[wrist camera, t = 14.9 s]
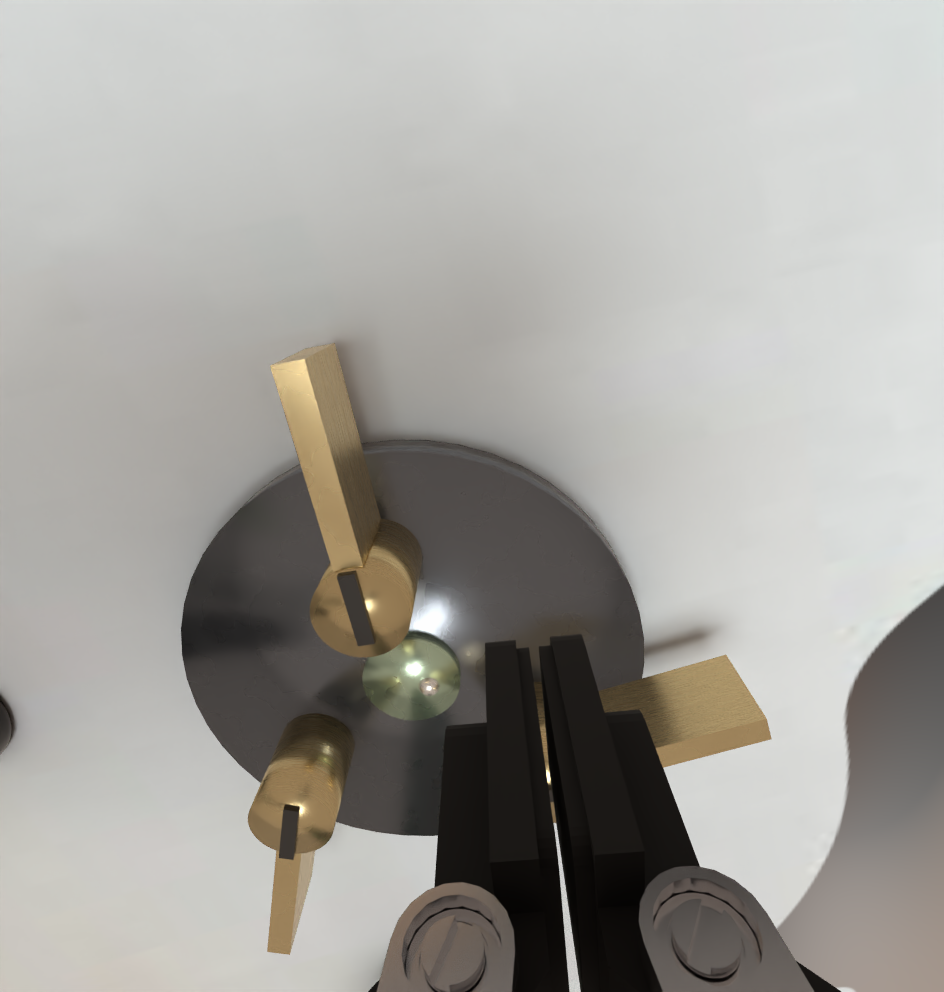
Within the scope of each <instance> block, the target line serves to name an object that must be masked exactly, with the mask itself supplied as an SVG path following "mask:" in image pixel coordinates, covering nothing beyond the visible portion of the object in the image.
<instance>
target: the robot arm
mask: <svg viewBox="0 0 944 992" xmlns="http://www.w3.org/2000/svg"><path fill="white" fill-rule="evenodd" d="M539 658H540V670H541V681H542V693H543V705H544V716H545V728H546V740H547V751H548V763H549V773H550V781H551V788H552V795H553V802H554V809H555V816H556V823H557V830H558V837H559V844H560V851H561V857H562V864H563V871H564V878H565V885H566V892H567V899H568V906H569V913H570V920H571V927H572V934H573V940H574V947H575V954H576V961H577V968H578V975H579V982H580V989H581V992H841V991H840V990H838V989H837V988H835V987H834V986H832V985H831V984H829V983H828V982H826V981H825V980H823V979H822V978H820V977H819V976H818V975H816V974H815V973H813V972H812V971H810V970H809V969H807V968H806V967H804V966H803V965H801V964H800V963H798V962H797V961H796V960H795V959H794V957H793V956H792V954H791V952H790V951H789V949H788V947H787V946H786V944H785V942H784V941H783V939H782V937H781V936H780V934H779V932H778V931H777V929H776V927H775V926H774V924H773V922H772V921H771V919H770V917H769V916H768V914H767V913H766V911H765V910H764V909H763V908H762V906H761V905H760V904H759V902H758V901H757V900H756V899H755V897H754V896H753V895H752V894H751V893H750V892H749V891H747V890H746V889H745V888H744V887H742V886H741V885H740V884H739V883H738V882H736V881H735V880H734V879H731V878H729V877H727V876H725V875H723V874H721V873H719V872H717V871H715V870H712V869H707V868H703V867H700V866H699V863H698V860H697V858H696V855H695V852H694V850H693V847H692V844H691V842H690V839H689V836H688V834H687V831H686V828H685V826H684V823H683V820H682V818H681V815H680V812H679V810H678V807H677V804H676V802H675V799H674V796H673V793H672V791H671V788H670V785H669V783H668V780H667V777H666V775H665V772H664V769H663V767H662V764H661V761H660V759H659V756H658V753H657V751H656V748H655V745H654V743H653V740H652V737H651V735H650V732H649V729H648V726H647V724H646V721H645V719H644V717H643V714H642V713H641V711H640V710H628V711H616V712H604V709H603V705H602V702H601V698H600V695H599V691H598V688H597V684H596V681H595V677H594V674H593V671H592V667H591V664H590V660H589V657H588V653H587V650H586V646H585V643H584V639H583V636H582V634H574V635H563V636H552V637H550V645H548V646H539ZM485 676H486V720H487V722H486V723H474V724H462V725H450V726H447V727H446V729H445V739H444V754H443V769H442V784H441V799H440V814H439V829H438V844H437V859H436V874H435V888H432V889H430V890H427V891H426V892H424V893H423V894H422V895H420V896H419V897H418V898H417V899H415V900H414V901H413V902H411V904H410V905H409V906H408V907H407V909H406V910H405V911H404V913H403V914H402V915H401V917H400V918H399V920H398V922H397V924H396V927H395V929H394V932H393V934H392V937H391V939H390V943H389V947H388V951H387V954H386V958H385V962H384V966H383V970H382V973H381V977H380V980H379V981H378V982H377V983H376V984H375V985H374V986H373V987H372V988H371V989H370V990H369V991H368V992H569V982H568V970H567V959H566V947H565V935H564V923H563V911H562V899H561V887H560V876H559V865H558V856H557V847H556V839H555V831H554V824H553V817H552V810H551V803H550V795H549V788H548V781H547V774H546V767H545V759H544V752H543V745H542V738H541V731H540V723H539V716H538V709H537V702H536V695H535V687H534V680H533V673H532V666H531V659H530V651H529V647H526V648H516V640H508V641H497V642H486V643H485Z"/></svg>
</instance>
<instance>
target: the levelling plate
mask: <svg viewBox="0 0 944 992" xmlns="http://www.w3.org/2000/svg"><path fill="white" fill-rule="evenodd" d="M361 445H362V449H363V453H364V457H365V461H366V464H367V468H368V472H369V476H370V480H371V483H372V487H373V491H374V495H375V499H376V502H377V506H378V510H379V514H380V518H381V519H388V520H392V521H394V522H397V523H399V524H401V525H403V526H404V527H406V528H407V529H408V530H409V531H410V532H411V533H412V534H413V535H414V536H415V538H416V539H417V541H418V543H419V545H420V547H421V551H422V566H421V571H420V576H419V581H418V587H417V592H416V597H415V602H414V607H413V613H412V618H411V623H410V627H409V630H408V633H407V635H406V636H405V638H404V639H403V641H402V642H401V643H400V644H399V645H398V646H397V647H395V648H394V649H393V650H391V651H389V652H387V653H385V654H382V655H379V656H375V657H353V656H349V655H346V654H343V653H340V652H338V651H336V650H334V649H333V648H331V647H330V646H328V645H327V644H326V643H325V642H324V641H323V640H322V639H321V638H320V637H319V636H318V634H317V633H316V631H315V630H314V628H313V625H312V623H311V619H310V603H311V599H312V597H313V594H314V593H315V591H316V589H317V587H318V585H319V583H320V581H321V579H322V577H323V575H324V573H325V571H326V569H327V567H328V565H329V563H330V559H329V556H328V553H327V549H326V546H325V543H324V540H323V536H322V533H321V530H320V527H319V523H318V520H317V517H316V514H315V510H314V507H313V504H312V501H311V497H310V494H309V491H308V487H307V484H306V481H305V478H304V474H303V471H302V468H301V465H298V466H296V467H294V468H292V469H291V470H289V471H287V472H285V473H284V474H282V475H280V476H278V477H277V478H275V479H274V480H273V481H272V482H270V483H269V484H268V485H266V486H265V487H264V488H262V489H261V490H260V491H259V492H257V493H256V494H255V495H254V496H253V497H252V498H251V499H250V500H249V501H248V502H247V503H246V504H245V505H244V506H243V507H242V508H241V509H240V510H239V511H238V512H237V513H236V514H235V515H234V516H233V517H232V518H231V519H230V520H229V521H228V522H227V523H226V525H225V526H224V527H223V528H222V529H221V530H220V531H219V532H218V533H217V535H216V536H215V538H214V539H213V541H212V542H211V544H210V545H209V546H208V548H207V549H206V551H205V552H204V554H203V555H202V558H201V560H200V562H199V564H198V566H197V568H196V570H195V572H194V574H193V576H192V579H191V582H190V585H189V589H188V592H187V596H186V599H185V603H184V609H183V618H182V627H181V638H182V656H183V661H184V666H185V671H186V676H187V680H188V683H189V686H190V688H191V691H192V694H193V697H194V699H195V702H196V704H197V706H198V708H199V710H200V712H201V714H202V716H203V717H204V719H205V721H206V723H207V725H208V726H209V728H210V729H211V731H212V732H213V733H214V735H215V736H216V738H217V739H218V741H219V742H220V743H221V745H222V746H223V747H224V748H225V749H226V750H227V752H228V753H229V754H230V755H231V756H232V757H233V758H234V759H235V760H236V761H237V762H238V764H239V765H240V766H242V767H243V768H244V769H245V770H246V771H247V772H249V773H250V774H251V775H252V776H253V777H254V778H256V779H257V780H258V781H259V782H260V783H261V782H262V780H263V778H264V775H265V773H266V771H267V768H268V766H269V763H270V761H271V759H272V756H273V754H274V752H275V749H276V747H277V745H278V742H279V740H280V737H281V735H282V733H283V730H284V728H285V727H286V725H287V724H288V723H289V722H290V721H291V720H293V719H294V718H296V717H298V716H301V715H305V714H312V713H317V714H324V715H328V716H331V717H334V718H336V719H338V720H339V721H341V722H342V723H344V724H345V725H346V726H347V727H348V728H349V730H350V731H351V733H352V735H353V737H354V741H355V749H354V753H353V757H352V761H351V764H350V768H349V772H348V776H347V780H346V784H345V788H344V791H343V795H342V799H341V803H340V807H339V811H338V815H337V818H336V822H339V823H342V824H345V825H348V826H352V827H356V828H361V829H365V830H370V831H375V832H381V833H389V834H398V835H417V836H435V835H438V829H439V814H440V799H441V784H442V769H443V754H444V739H445V729H446V727H447V726H450V725H462V724H474V723H486V722H487V720H486V676H485V643H486V642H497V641H508V640H516V648H526V647H529V651H530V659H531V666H532V673H533V680H534V682H542V681H541V670H540V658H539V646H548V645H550V637H552V636H563V635H574V634H582V636H583V639H584V643H585V646H586V650H587V653H588V657H589V660H590V664H591V667H592V671H593V674H594V677H595V681H596V684H597V688H598V691H601V690H604V689H608V688H611V687H615V686H618V685H622V684H625V683H629V682H632V681H636V680H639V679H642V674H643V667H644V637H643V631H642V625H641V619H640V614H639V610H638V607H637V604H636V601H635V598H634V595H633V593H632V590H631V587H630V585H629V583H628V580H627V578H626V576H625V574H624V572H623V570H622V568H621V566H620V564H619V562H618V560H617V558H616V556H615V554H614V552H613V550H612V549H611V547H610V545H609V543H608V542H607V540H606V539H605V538H604V536H603V535H602V533H601V532H600V531H599V529H598V528H597V527H596V525H595V524H594V523H593V521H592V520H591V519H590V518H589V517H588V516H587V515H586V514H585V513H584V512H583V511H582V510H581V509H580V508H579V507H578V506H577V505H576V504H575V503H574V502H573V501H572V500H571V499H570V498H569V497H567V496H566V495H565V494H563V493H562V492H561V491H560V490H558V489H557V488H556V487H554V486H553V485H552V484H551V483H549V482H548V481H546V480H544V479H543V478H541V477H539V476H538V475H536V474H534V473H532V472H531V471H529V470H527V469H526V468H524V467H522V466H520V465H518V464H515V463H513V462H510V461H508V460H506V459H503V458H501V457H498V456H496V455H494V454H491V453H487V452H484V451H480V450H477V449H473V448H469V447H466V446H462V445H456V444H450V443H443V442H436V441H429V440H389V441H380V442H371V443H363V444H361Z"/></svg>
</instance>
